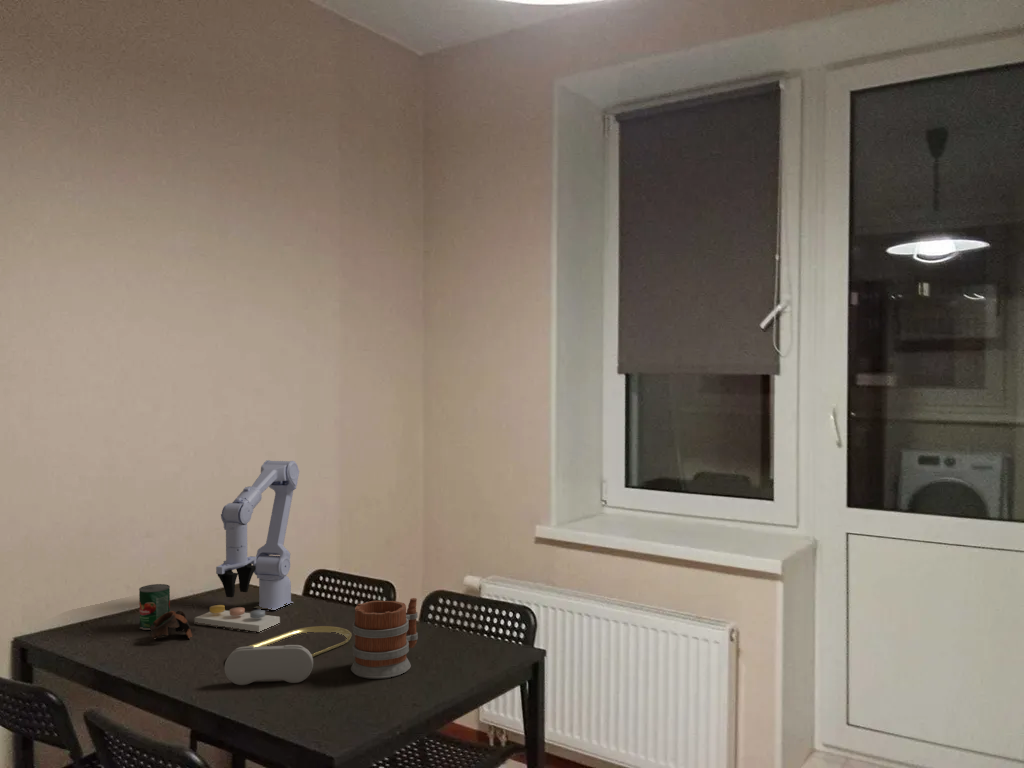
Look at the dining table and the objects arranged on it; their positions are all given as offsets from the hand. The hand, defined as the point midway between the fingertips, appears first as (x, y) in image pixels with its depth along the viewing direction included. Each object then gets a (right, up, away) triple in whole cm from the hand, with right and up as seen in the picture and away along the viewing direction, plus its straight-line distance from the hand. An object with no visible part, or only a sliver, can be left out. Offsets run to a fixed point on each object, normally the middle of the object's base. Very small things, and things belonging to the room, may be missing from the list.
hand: (237, 594), depth 237 cm
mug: (+48, -9, -35) cm, 60 cm away
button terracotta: (0, -6, 0) cm, 6 cm away
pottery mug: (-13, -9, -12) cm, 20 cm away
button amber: (-7, -6, +3) cm, 9 cm away
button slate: (+7, -6, -3) cm, 9 cm away
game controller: (+22, -9, -45) cm, 51 cm away
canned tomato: (-22, -9, -2) cm, 24 cm away
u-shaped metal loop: (+21, -9, -22) cm, 32 cm away
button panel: (0, -8, 0) cm, 8 cm away
